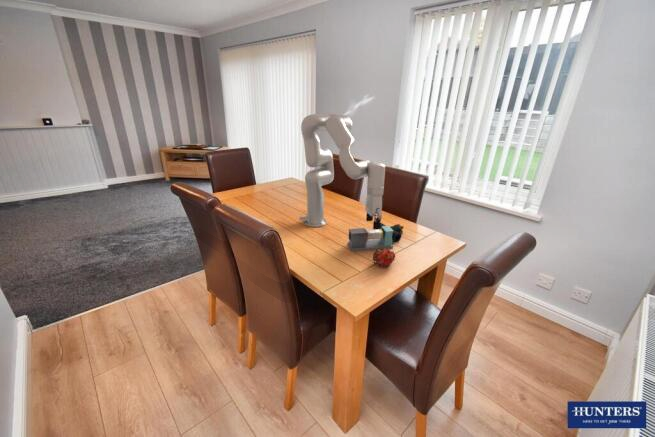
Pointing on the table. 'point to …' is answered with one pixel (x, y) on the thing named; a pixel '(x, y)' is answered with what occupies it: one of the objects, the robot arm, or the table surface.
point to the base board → (370, 246)
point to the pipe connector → (395, 231)
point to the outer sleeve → (358, 237)
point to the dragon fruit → (383, 257)
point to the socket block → (386, 235)
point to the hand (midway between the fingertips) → (372, 224)
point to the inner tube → (374, 234)
